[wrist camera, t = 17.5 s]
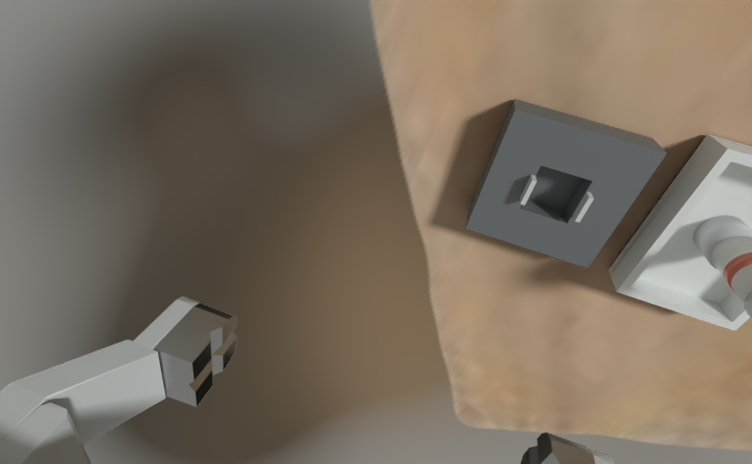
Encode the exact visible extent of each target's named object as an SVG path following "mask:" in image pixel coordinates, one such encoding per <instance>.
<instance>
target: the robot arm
mask: <svg viewBox="0 0 752 464" xmlns="http://www.w3.org/2000/svg"><path fill="white" fill-rule="evenodd" d="M236 319H237V318H236V317H234V316H232V315H229V314H227V313H224V312H222V311H219V310H216V309H214V308H212V307H209V306H207V305H204V304H202V303H199V302H197V301H194V300H191V299H189V298H186V297H181V298H179V299H177V300H175V301H174V302H173V303H172V304H171V305H170V306H169V307H168V308H167V309H166V310H165V311H164V312H163V313H162V314H161V315H160V316H159V317H158V318H157V319H156V320H155V321H153V322H152V323H151V324H150V325H149V326H148V327H147V328H146V329H145V330H144V331H143V332H142V333H141V334H140V335H139V336H138V337H137V338H136V339H135V340H134V341H131V340H128V339H127V340H125V341H122V342H120V343H117V344H114V345H112V346H109V347H106V348H103V349H100V350H98V351H95V352H92V353H90V354H87V355H84V356H82V357H79V358H77V359H74V360H71V361H68V362H66V363H63V364H60V365H57V366H55V367H52V368H49V369H47V370H44V371H41V372H39V373H36V374H33V375H31V376H28V377H26V378H23V379H20V380H17V381H14V382H12V383H10V384H9V385H7V386H6V387H5V388H4V389H2V390H1V391H0V464H91V461H90V459H89V457H88V455H87V452H86V450H85V448H84V445H85V444H87V443H89V442H91V441H92V440H94V439H95V438H97V437H99V436H101V435H103V434H104V433H106V432H108V431H109V430H111V429H113V428H115V427H116V426H118V425H120V424H122V423H123V422H125V421H127V420H128V419H130V418H132V417H134V416H135V415H137V414H139V413H141V412H142V411H144V410H146V409H147V408H149V407H151V406H152V405H154V404H156V403H158V402H160V401H161V400H163V399H165V398H166V396H168V397H171V398H173V399H176V400H179V401H182V402H184V403H187V404H190V405H193V406H195V407H197V406H198V405H199V403H200V402H201V400H202V399H203V398H204V396H205V395H206V394H207V392H208V391H209V390H210V388H211V387H212V385H213V375H215V374H217V373H219V372H221V371H223V370H224V369H225V367H226V366H227V364H228V363H229V361H230V360H231V357H232V355H233V353H234V351H235V347H236V344H237V337H236V335H235V333H234V332H233V330H234V329H235V328H236V326H237V320H236ZM537 443H538V444H537V445H538V446H535V447H531V448H529V449H528V450H527V451H526V452H525V454H524V455H523V458H522V461H521V464H615V462H614V461H613V459H612V458H611V457H610V456H608V455H606V454H603V453H601V452H598V451H595V450H592V449H589V448H587V447H586V446H583V445H580V444H578V443H575V442H572V441H569V440H566V439H563V438H561V437H558V436H555V435H552V434H549V433H547V432H546V433H542V434H541V435H540V436H539V437H538V438H537Z"/></svg>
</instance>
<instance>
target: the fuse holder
mask: <svg viewBox="0 0 752 464" xmlns="http://www.w3.org/2000/svg"><path fill="white" fill-rule="evenodd" d="M666 154H667V153H666V152H665V151H664V149H663V148H662V147H661V146H660V145H659V144H658V143H657V142H656V141H655V140H654V139H652V138H649V137H645V136H642V135H638V134H635V133H631V132H628V131H624V130H621V129H617V128H614V127H610V126H607V125H603V124H600V123H596V122H593V121H589V120H586V119H582V118H579V117H575V116H572V115H568V114H565V113H561V112H558V111H554V110H551V109H547V108H544V107H540V106H537V105H533V104H530V103H526V102H523V101H519V100H516V99H514V101H513V103H512V105H511V108H510V110H509V113H508V115H507V118H506V120H505V123H504V125H503V127H502V130H501V132H500V135H499V137H498V140H497V142H496V145H495V147H494V149H493V152H492V154H491V157H490V159H489V162H488V164H487V167H486V169H485V171H484V174H483V176H482V179H481V181H480V184H479V186H478V189H477V191H476V193H475V196H474V198H473V201H472V203H471V206H470V208H469V211H468V215H467V222H466V229H468V230H471V231H474V232H477V233H480V234H483V235H486V236H489V237H492V238H495V239H499V240H502V241H505V242H508V243H511V244H514V245H517V246H520V247H523V248H526V249H529V250H532V251H536V252H539V253H542V254H545V255H548V256H551V257H554V258H557V259H560V260H563V261H566V262H569V263H572V264H576V265H579V266H582V267H585V268H589V266H590V265H591V263H592V262H593V260H594V259H595V257H596V256H597V255H598V253H599V252H600V250H601V249H602V247H603V246H604V244H605V243H606V241H607V240H608V239H609V237H610V236H611V234H612V233H613V231H614V230H615V228H616V227H617V225H618V224H619V223H620V221H621V220H622V218H623V217H624V215H625V214H626V212H627V211H628V209H629V208H630V207H631V205H632V204H633V202H634V201H635V199H636V198H637V196H638V195H639V193H640V192H641V191H642V189H643V188H644V186H645V185H646V183H647V182H648V180H649V179H650V178H651V176H652V175H653V173H654V172H655V170H656V169H657V167H658V166H659V164H660V163H661V162H662V160H663V159H664V157H665V156H666Z"/></svg>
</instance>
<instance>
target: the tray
mask: <svg viewBox="0 0 752 464" xmlns="http://www.w3.org/2000/svg"><path fill="white" fill-rule="evenodd" d="M724 215H728V216H734V217H737V218H739V219H741V220H742V221H743V222H744V223H745V224H746V225H747V226H748V227H749V228H750V229H751V230H752V146H748V145H745V144H741V143H738V142H734V141H731V140H727V139H723V138H720V137H716V136H713V135H709V134H707V136H706V137H705V138H704V140H703V141H702V142H701V144H700V145H699V146H698V148H697V149H696V151H695V152H694V153H693V155H692V156H691V157H690V159H689V160H688V162H687V163H686V164H685V166H684V167H683V168H682V170H681V171H680V173H679V174H678V175H677V177H676V178H675V179H674V181H673V182H672V183H671V185H670V186H669V188H668V189H667V190H666V192H665V193H664V194H663V196H662V197H661V199H660V200H659V201H658V203H657V204H656V205H655V207H654V208H653V209H652V211H651V212H650V214H649V215H648V216H647V218H646V219H645V220H644V222H643V223H642V225H641V226H640V227H639V229H638V230H637V231H636V233H635V234H634V235H633V237H632V238H631V240H630V241H629V242H628V244H627V245H626V246H625V248H624V249H623V251H622V252H621V253H620V255H619V256H618V257H617V259H616V260H615V262H614V263H613V264H612V266H611V267H610V268H609V270H608V271H609V274H610V277H611V279H612V282H613V285H614V287H615V290H616V292H618V293H621V294H624V295H627V296H630V297H633V298H636V299H639V300H642V301H645V302H648V303H651V304H654V305H658V306H661V307H664V308H667V309H670V310H673V311H676V312H679V313H682V314H685V315H688V316H691V317H694V318H697V319H700V320H703V321H706V322H709V323H712V324H715V325H718V326H721V327H724V328H728V329H731V330H734V331H735V330H737V329H738V328H739V327H740V326H741V325H742V324H743V323H744V322H745V321H747V320H748V319H749V318H750V316H749V315H748V314H747V312H746V311H745V309H744V303H743V302H742V300H741V299H740V298H739V297H738V295H737V294H736V293H735V292H734V291H733V290H732V289H731V287H730V286H729V285H728V283H727V282H726V281H725V279H724V277H723V276H722V274H721V273H720V272H719V270H718V269H716V268H714V267H713V266H711V265H710V263H709V262H708V261H707V259H706V258H705V257H704V255H703V254H702V253H701V251H700V250H699V249H698V247H697V246H696V245H695V243H694V240H693V235H694V232H695V230H696V229H697V227H698V226H699V225H700V224H702V223H703V222H704V221H706V220H708V219H710V218H713V217H717V216H724Z"/></svg>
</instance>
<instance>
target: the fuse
mask: <svg viewBox="0 0 752 464" xmlns="http://www.w3.org/2000/svg"><path fill="white" fill-rule="evenodd" d="M693 240H694V243H695V245H696V246H697V247H698V249H699V250H700V251H701V253H702V254H703V255H704V257H705V258H706V259H707V261H708V262H709V263H710V265H711V266H713V267H714V268H716V269H718V270H719V272H720V273H721V274H722V276H723V277H724V279H725V281H726V282H727V283H728V285H729V286H730V287H731V289H732V290H733V291H734V292H735V293H736V294H737V295H738V297H739V298H740V299H741V300H742V302H743V303H744V309H745V311H746V312H747V314H748V315H749V316H750V318H751V319H752V230H751V229H750V228H749V227H748V226H747V225H746V224H745V223H744V222H743V221H742V220H741V219H739V218H737V217H734V216H728V215H724V216H717V217H713V218H710V219H708V220H706V221H704V222H703V223H702V224H700V225H699V226H698V227H697V229H696V230H695V232H694V235H693Z"/></svg>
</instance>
